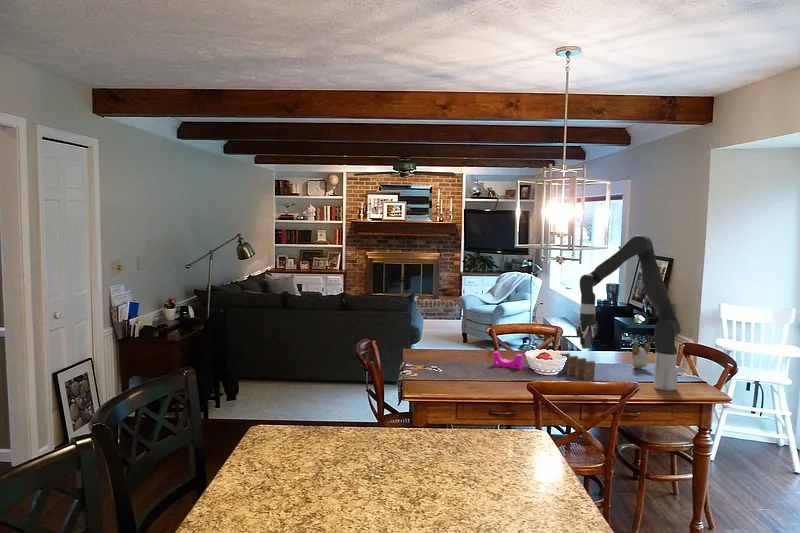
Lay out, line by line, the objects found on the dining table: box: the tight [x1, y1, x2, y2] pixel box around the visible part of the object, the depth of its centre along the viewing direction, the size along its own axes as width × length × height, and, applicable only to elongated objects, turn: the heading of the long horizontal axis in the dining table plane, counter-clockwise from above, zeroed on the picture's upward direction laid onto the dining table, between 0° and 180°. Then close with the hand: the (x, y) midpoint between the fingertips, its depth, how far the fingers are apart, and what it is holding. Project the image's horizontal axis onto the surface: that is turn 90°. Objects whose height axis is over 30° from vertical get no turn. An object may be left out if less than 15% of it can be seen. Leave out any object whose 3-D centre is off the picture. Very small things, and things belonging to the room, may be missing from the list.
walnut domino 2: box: [566, 355, 579, 377], centre depth 290 cm, size 2×5×10 cm, turn 115°
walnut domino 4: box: [583, 360, 596, 382], centre depth 279 cm, size 2×5×10 cm, turn 114°
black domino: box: [581, 330, 592, 350], centre depth 295 cm, size 2×5×10 cm, turn 114°
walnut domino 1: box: [559, 352, 571, 374], centre depth 296 cm, size 2×5×10 cm, turn 115°
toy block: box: [492, 350, 525, 370], centre depth 306 cm, size 15×6×8 cm, turn 63°
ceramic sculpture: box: [631, 341, 651, 369], centre depth 306 cm, size 11×9×15 cm
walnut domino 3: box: [575, 357, 587, 380], centre depth 285 cm, size 2×5×10 cm, turn 115°
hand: (586, 344), depth 295 cm, fingers closed on black domino, 5 cm apart
